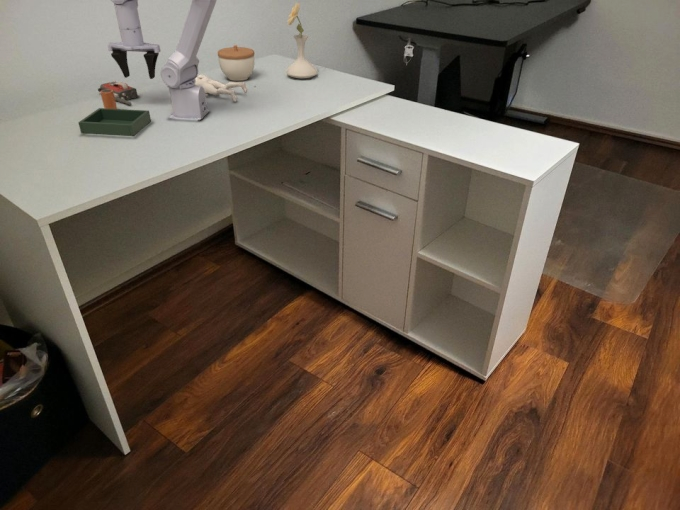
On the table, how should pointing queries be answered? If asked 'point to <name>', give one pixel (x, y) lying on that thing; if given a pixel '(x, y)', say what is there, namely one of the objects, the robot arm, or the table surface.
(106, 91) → the tube
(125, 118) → the basket
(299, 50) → the flower in vase
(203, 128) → the table surface
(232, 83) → the superhero figure
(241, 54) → the dishware bowl
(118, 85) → the walkie-talkie
